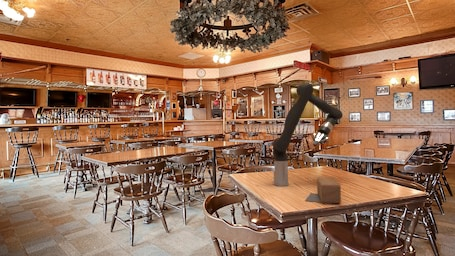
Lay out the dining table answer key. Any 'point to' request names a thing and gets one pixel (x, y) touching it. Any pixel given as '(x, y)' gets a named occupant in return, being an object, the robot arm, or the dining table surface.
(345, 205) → the dining table surface
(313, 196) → the mat
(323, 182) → the block
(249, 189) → the dining table surface
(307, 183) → the dining table surface
